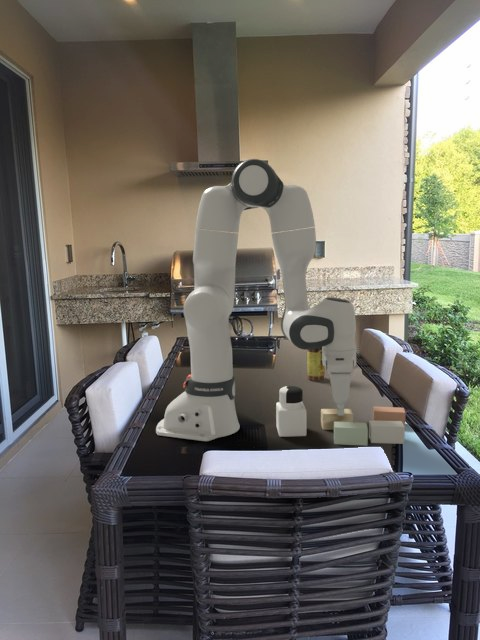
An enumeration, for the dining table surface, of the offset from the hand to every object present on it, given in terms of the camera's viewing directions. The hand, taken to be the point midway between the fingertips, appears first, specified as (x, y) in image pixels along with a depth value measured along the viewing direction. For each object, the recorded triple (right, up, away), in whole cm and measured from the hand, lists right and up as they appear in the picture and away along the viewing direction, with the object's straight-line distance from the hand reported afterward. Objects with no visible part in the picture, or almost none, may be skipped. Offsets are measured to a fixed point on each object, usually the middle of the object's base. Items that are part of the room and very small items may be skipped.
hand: (340, 408), depth 134 cm
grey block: (+10, -7, -9) cm, 15 cm away
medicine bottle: (-13, -6, -2) cm, 15 cm away
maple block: (-1, -5, +1) cm, 5 cm away
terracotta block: (+14, -5, +2) cm, 15 cm away
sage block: (+1, -7, -9) cm, 11 cm away
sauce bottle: (+1, +2, +48) cm, 48 cm away
